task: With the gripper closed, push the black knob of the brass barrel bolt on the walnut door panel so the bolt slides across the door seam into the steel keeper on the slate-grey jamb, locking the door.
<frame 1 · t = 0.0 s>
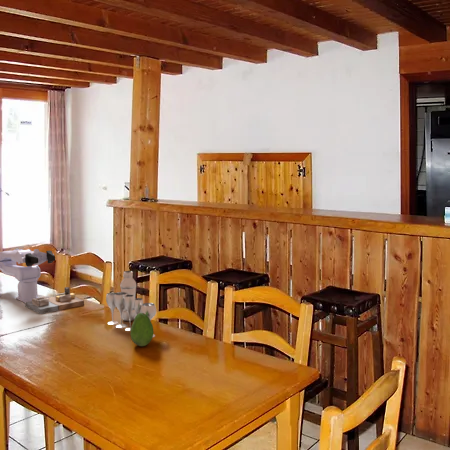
hand: (46, 259, 237), 22 cm above the table, tool horizontal, fingers open, 7 cm apart
plastic bottle: (129, 320, 222), on the table
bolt: (65, 293, 246), point 5 cm above the table, slide at 0.0 cm
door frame: (57, 305, 244), on the table
avocado: (142, 346, 193), on the table
goblet set: (130, 330, 211), on the table
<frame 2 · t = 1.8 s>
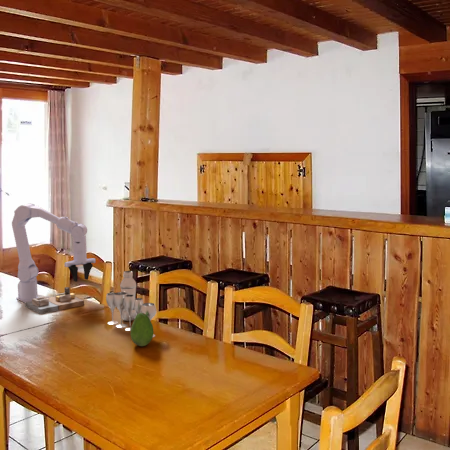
hand: (81, 280, 251), 9 cm above the table, tool pointing down, fingers open, 5 cm apart
nothing on the table moved.
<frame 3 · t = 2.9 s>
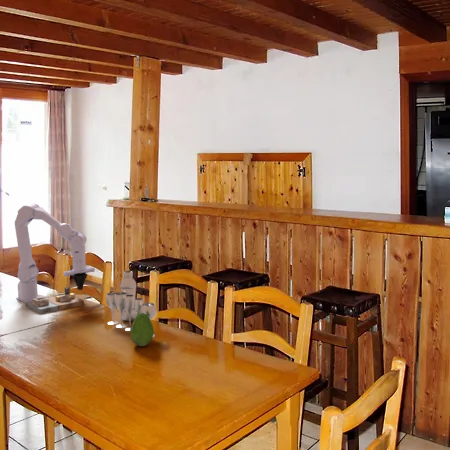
hand: (80, 289, 251), 5 cm above the table, tool pointing down, fingers closed
nothing on the table moved.
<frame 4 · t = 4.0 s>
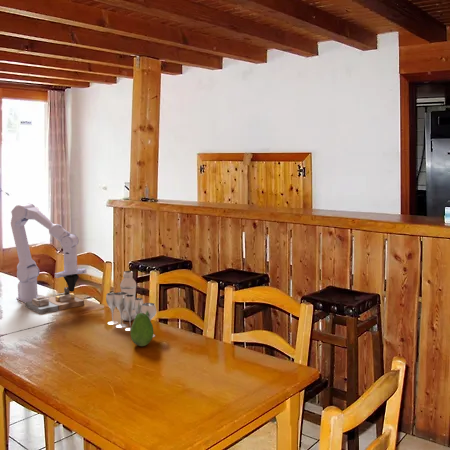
hand: (71, 291, 248), 5 cm above the table, tool pointing down, fingers closed
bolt: (64, 293, 246), point 5 cm above the table, slide at 0.1 cm, touching gripper
everything else where it was.
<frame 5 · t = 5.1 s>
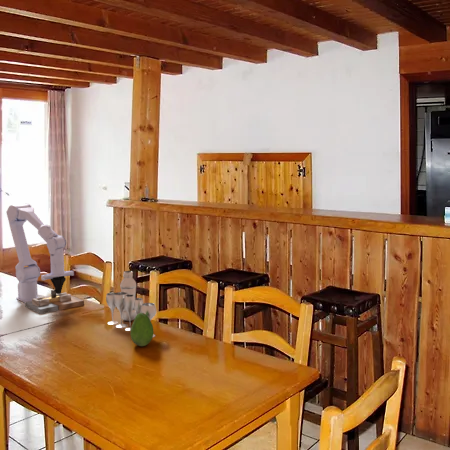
hand: (58, 293, 244), 5 cm above the table, tool pointing down, fingers closed
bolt: (51, 296, 242), point 5 cm above the table, slide at 6.5 cm, touching gripper
everything else where it was.
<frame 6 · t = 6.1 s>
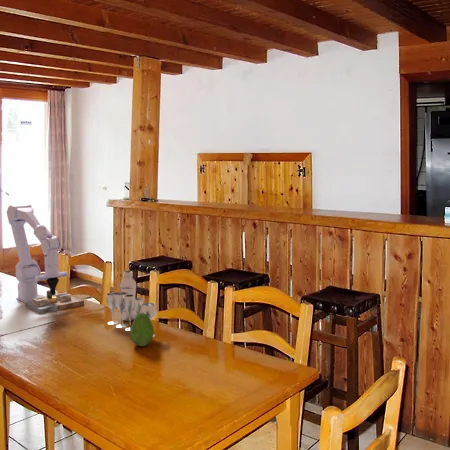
hand: (52, 294, 242), 5 cm above the table, tool pointing down, fingers closed, pressing on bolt
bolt: (47, 297, 240), point 5 cm above the table, slide at 8.5 cm, touching gripper
everything else where it was.
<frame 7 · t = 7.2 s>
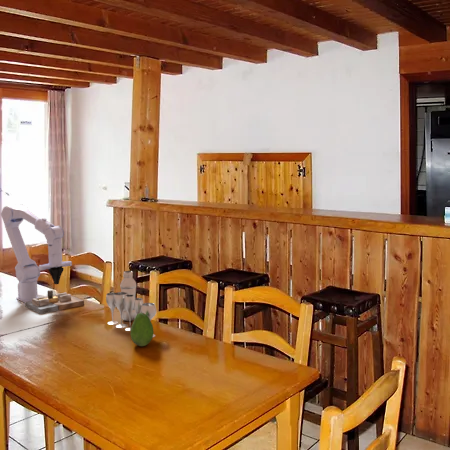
hand: (56, 283, 244), 9 cm above the table, tool pointing down, fingers closed
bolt: (48, 296, 241), point 5 cm above the table, slide at 8.0 cm
everything else where it was.
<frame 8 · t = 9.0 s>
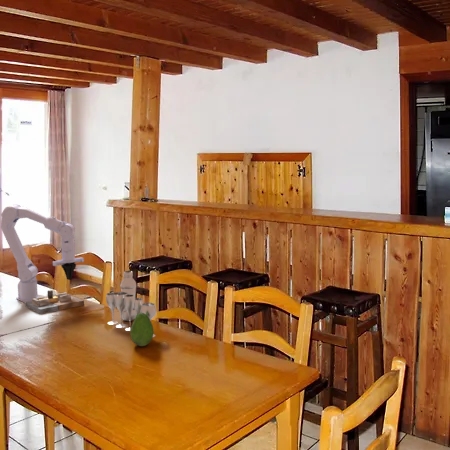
hand: (69, 279, 253), 9 cm above the table, tool pointing down, fingers closed
nothing on the table moved.
at the end: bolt slide at 8.0 cm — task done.
